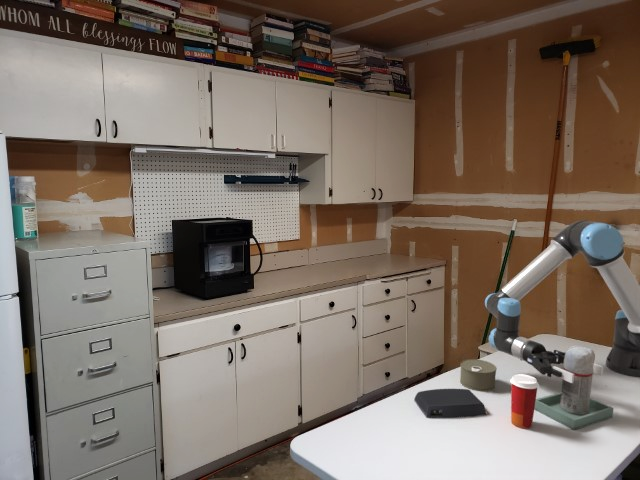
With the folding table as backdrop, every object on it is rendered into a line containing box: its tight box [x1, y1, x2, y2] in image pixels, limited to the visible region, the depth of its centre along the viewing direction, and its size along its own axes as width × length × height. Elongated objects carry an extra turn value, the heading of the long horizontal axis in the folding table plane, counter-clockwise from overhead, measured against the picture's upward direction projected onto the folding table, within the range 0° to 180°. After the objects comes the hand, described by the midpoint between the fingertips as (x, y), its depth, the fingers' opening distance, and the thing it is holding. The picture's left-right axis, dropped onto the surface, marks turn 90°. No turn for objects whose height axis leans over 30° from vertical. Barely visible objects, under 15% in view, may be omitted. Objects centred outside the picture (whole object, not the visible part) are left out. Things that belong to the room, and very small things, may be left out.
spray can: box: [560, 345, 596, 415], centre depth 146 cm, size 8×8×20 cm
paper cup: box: [509, 373, 540, 430], centre depth 139 cm, size 8×8×14 cm
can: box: [459, 358, 497, 392], centre depth 166 cm, size 12×12×7 cm
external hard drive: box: [413, 388, 487, 419], centre depth 149 cm, size 13×19×4 cm
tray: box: [534, 391, 614, 431], centre depth 146 cm, size 18×14×3 cm
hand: (587, 374), depth 142 cm, fingers open, 13 cm apart
